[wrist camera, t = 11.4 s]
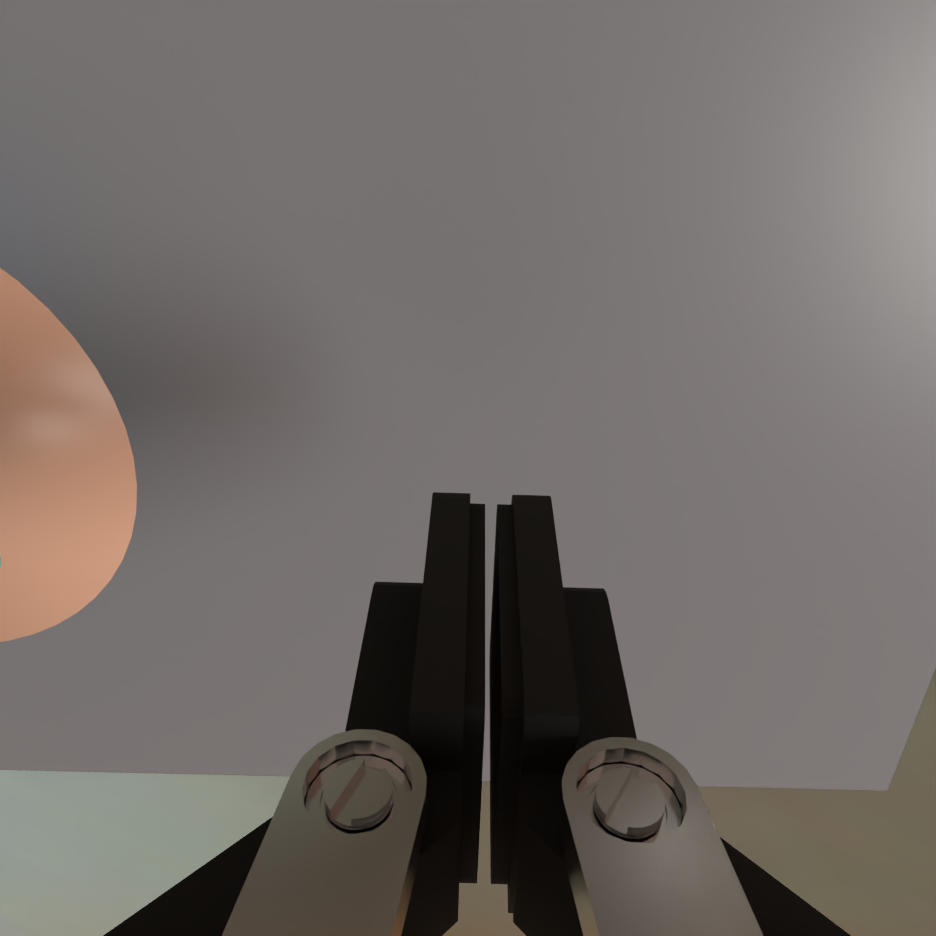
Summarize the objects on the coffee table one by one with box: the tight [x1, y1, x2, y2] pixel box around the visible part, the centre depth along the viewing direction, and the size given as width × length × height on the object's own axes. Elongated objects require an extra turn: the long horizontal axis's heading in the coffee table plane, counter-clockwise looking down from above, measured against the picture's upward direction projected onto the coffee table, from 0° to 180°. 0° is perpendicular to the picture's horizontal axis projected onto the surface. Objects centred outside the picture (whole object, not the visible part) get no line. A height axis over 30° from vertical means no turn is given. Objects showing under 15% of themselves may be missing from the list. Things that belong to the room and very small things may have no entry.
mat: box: [0, 0, 936, 790], centre depth 17 cm, size 20×34×1 cm, turn 89°
